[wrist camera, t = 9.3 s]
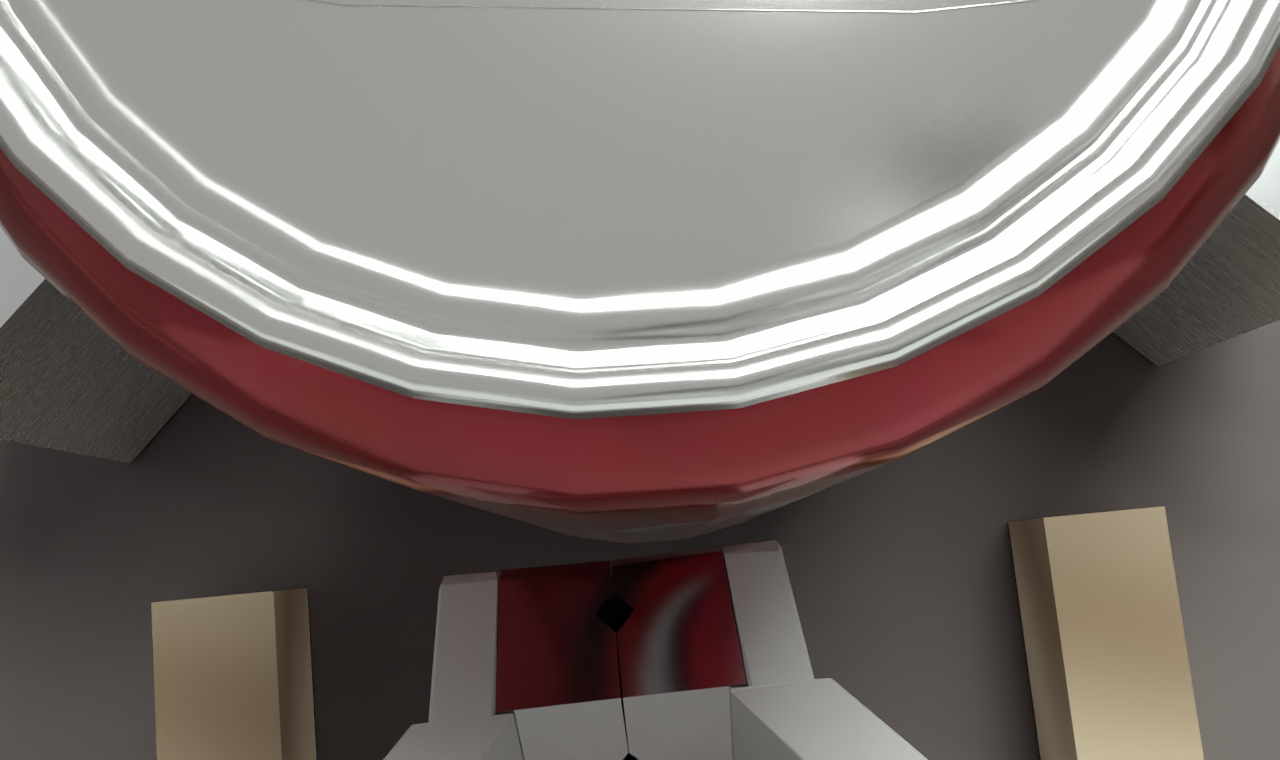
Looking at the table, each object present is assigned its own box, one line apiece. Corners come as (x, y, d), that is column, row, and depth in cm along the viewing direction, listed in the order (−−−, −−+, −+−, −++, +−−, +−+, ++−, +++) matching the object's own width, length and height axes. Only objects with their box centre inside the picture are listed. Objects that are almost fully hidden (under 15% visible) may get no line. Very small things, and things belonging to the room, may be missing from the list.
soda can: (287, 411, 17) (-574, 57, 5) (512, -43, 18) (233, -1245, 6) (772, 633, 16) (1090, 827, 5) (977, 155, 17) (1690, -727, 5)
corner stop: (582, -243, 18) (557, -541, 13) (1242, 256, 17) (1483, 134, 12) (25, 371, 17) (-232, 293, 12) (696, 957, 16) (717, 1139, 11)
